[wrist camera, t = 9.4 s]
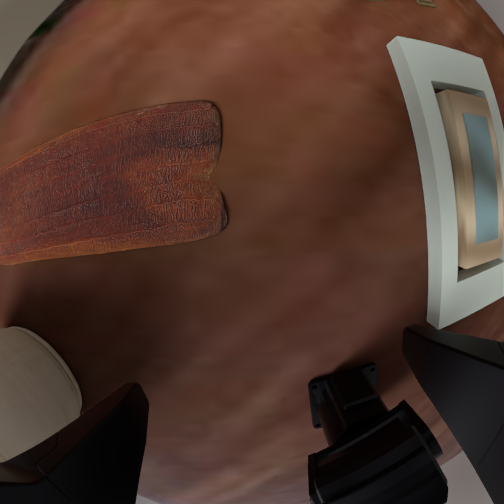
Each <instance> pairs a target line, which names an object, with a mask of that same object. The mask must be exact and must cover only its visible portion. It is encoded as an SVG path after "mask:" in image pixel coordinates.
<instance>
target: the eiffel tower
mask: <svg viewBox="0 0 504 504" xmlns="http://www.w3.org/2000/svg"><path fill="white" fill-rule="evenodd" d="M368 1H385V0H368ZM416 1H417V3H418V4H419V5H421V6H428V7H433V8H436V6H435V4H434V3H433V1H432V0H416Z"/></svg>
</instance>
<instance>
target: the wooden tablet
mask: <svg viewBox="0 0 504 504" xmlns="http://www.w3.org/2000/svg"><path fill="white" fill-rule="evenodd" d="M220 148H221V122H220V116H219V112H218V110H217V108H216V107H214V106H213V105H212V104H211V103H209V102H205V101H192V102H181V103H170V104H164V105H157V106H153V107H148V108H144V109H139V110H134V111H130V112H127V113H123V114H119V115H116V116H112V117H108V118H105V119H103V120H101V121H96V122H93V123H90V124H88V125H85V126H82V127H79V128H76V129H74V130H71V131H69V132H67V133H65V134H63V135H61V136H58V137H56V138H54V139H52V140H50V141H48V142H46V143H44V144H42V145H39V146H37V147H36V148H34V149H32V150H30V151H28V152H26V153H24V154H23V155H21V156H19V157H18V158H16V159H14V160H12V161H10V162H9V163H7V164H6V165H4V166H2V167H1V168H0V264H3V265H13V264H18V263H23V262H31V261H38V260H46V259H53V258H63V257H72V256H80V255H90V254H101V253H108V252H115V251H124V250H130V249H137V248H145V247H154V246H162V245H172V244H177V243H185V242H191V241H195V240H200V239H204V238H208V237H211V236H214V235H216V234H218V233H220V232H221V231H222V230H223V228H224V227H225V226H226V224H227V216H226V212H225V208H224V203H223V199H222V195H221V192H220V189H218V187H217V186H216V185H215V184H214V183H213V182H212V181H211V180H210V179H209V174H210V173H211V172H212V171H213V168H214V167H215V165H216V164H217V161H218V157H219V154H220Z"/></svg>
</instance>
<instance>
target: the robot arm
mask: <svg viewBox="0 0 504 504" xmlns="http://www.w3.org/2000/svg"><path fill="white" fill-rule="evenodd" d="M402 352H403V355H404V357H405V358H406V360H407V362H408V364H409V365H410V367H411V369H412V371H413V373H414V375H415V377H416V378H417V380H418V382H419V384H420V385H421V387H422V388H423V390H424V391H425V393H426V394H427V396H428V397H429V399H430V400H431V401H432V403H433V404H434V406H435V407H436V409H437V410H438V412H439V413H440V415H441V416H442V418H443V419H444V421H445V422H446V424H447V425H448V427H449V428H450V430H451V432H452V433H453V435H454V436H455V438H456V439H457V441H458V442H459V444H460V446H461V447H462V449H463V451H464V452H465V454H466V455H467V457H468V459H469V460H470V462H471V464H472V465H473V467H474V469H476V472H477V474H478V476H479V478H480V479H481V481H482V483H483V485H484V486H485V488H486V490H487V492H488V494H489V496H490V497H491V499H492V501H493V503H494V504H504V342H501V341H495V340H490V339H484V338H479V337H474V336H469V335H463V334H458V333H453V332H449V331H444V330H439V329H434V328H429V327H425V326H420V325H416V324H414V325H411V326H408V327H405V328H404V330H403V339H402ZM372 367H373V368H372ZM371 368H372V369H371ZM376 384H377V366H376V364H375V363H370V364H367V365H364V366H361V367H358V368H354V369H351V370H348V371H345V372H342V373H338V374H335V375H331V376H328V377H324V378H321V379H317V380H313V381H311V382H310V383H309V384H308V390H309V398H310V406H311V414H312V423H313V427H314V428H316V429H317V428H323V431H324V434H325V436H326V439H327V442H328V445H329V447H327V448H325V449H323V450H321V451H319V452H317V453H313V454H311V455H308V479H309V496H310V502H311V504H445V503H446V502H447V497H448V486H447V479H446V477H445V476H444V473H443V472H442V470H441V468H440V466H439V465H438V463H437V461H436V460H437V459H438V458H440V457H441V456H442V455H443V452H442V450H441V447H440V445H439V444H438V442H437V440H436V438H435V437H434V435H433V434H432V432H431V431H430V429H429V428H428V426H427V425H426V424H425V423H424V422H423V420H422V419H421V418H420V417H419V416H418V415H417V413H416V412H415V411H414V410H413V409H412V408H411V407H410V406H409V404H408V403H407V402H406V401H405V400H403V401H401V402H400V403H399V405H397V406H396V407H395V408H393V409H392V410H390V411H389V410H388V408H387V407H386V405H385V404H384V402H383V401H382V399H381V398H380V396H379V395H378V393H377V392H376ZM314 385H316V386H314ZM312 386H314V387H312ZM148 413H149V402H148V399H147V397H146V395H145V393H144V391H143V389H142V387H141V386H140V384H139V383H137V382H134V383H126V384H125V385H124V386H122V387H121V388H119V389H118V390H117V391H115V392H114V393H112V394H111V395H110V396H108V397H107V398H105V399H104V400H103V401H101V402H100V403H98V404H97V405H95V406H94V407H93V408H91V409H90V410H88V411H87V412H85V413H84V414H83V415H81V416H80V417H78V418H77V419H75V420H74V421H72V422H71V423H70V424H68V425H67V426H65V427H64V428H62V429H61V430H59V432H56V433H55V434H53V435H52V436H50V437H49V438H47V439H45V440H44V441H42V442H41V443H39V444H37V445H35V446H34V447H32V448H30V449H28V450H26V451H25V452H23V453H21V454H19V455H17V456H15V457H13V458H11V459H9V460H7V461H5V462H1V463H0V504H135V503H136V496H137V490H138V484H139V478H140V472H141V466H142V461H143V456H144V450H145V445H146V437H147V425H148Z"/></svg>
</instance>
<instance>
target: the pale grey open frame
mask: <svg viewBox="0 0 504 504" xmlns="http://www.w3.org/2000/svg"><path fill="white" fill-rule="evenodd" d="M386 46H387V49H388V51H389V54H390V56H391V59H392V62H393V65H394V67H395V70H396V73H397V76H398V79H399V82H400V85H401V89H402V92H403V95H404V99H405V102H406V106H407V110H408V113H409V117H410V121H411V126H412V130H413V134H414V139H415V144H416V149H417V154H418V159H419V165H420V171H421V177H422V184H423V192H424V201H425V210H426V222H427V237H428V307H427V322H428V323H430V324H431V325H432V326H434V327H435V328H436V329H441V328H444V327H446V326H448V325H450V324H452V323H454V322H456V321H458V320H460V319H462V318H464V317H466V316H468V315H470V314H472V313H474V312H476V311H478V310H480V309H482V308H483V307H485V306H487V305H489V304H491V303H492V302H494V301H496V300H498V299H499V298H501V297H503V296H504V129H503V125H502V120H501V116H500V112H499V109H498V105H497V101H496V98H495V95H494V91H493V88H492V85H491V82H490V79H489V76H488V73H487V71H486V68H485V65H484V63H483V60H482V58H479V57H476V56H473V55H470V54H467V53H464V52H461V51H458V50H455V49H451V48H448V47H444V46H441V45H437V44H433V43H429V42H424V41H420V40H415V39H410V38H405V37H399V36H397V37H395V38H394V39H393V40H392V41H391V42H390V43H388V44H387V45H386ZM433 88H434V89H441V90H446V89H449V90H454V91H458V92H462V93H466V94H471V95H474V96H478V97H481V98H485V99H487V101H488V105H489V109H490V113H491V117H492V122H493V127H494V132H495V137H496V143H497V149H498V156H499V163H500V172H501V182H502V197H503V248H502V257H500V258H497V259H495V260H492V261H489V262H486V263H483V264H480V265H477V266H474V267H471V268H468V269H462V270H459V271H458V228H457V211H456V199H455V189H454V181H453V174H452V167H451V160H450V155H449V149H448V144H447V139H446V134H445V130H444V125H443V121H442V117H441V113H440V109H439V106H438V102H437V99H436V95H435V92H434V89H433Z"/></svg>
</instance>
